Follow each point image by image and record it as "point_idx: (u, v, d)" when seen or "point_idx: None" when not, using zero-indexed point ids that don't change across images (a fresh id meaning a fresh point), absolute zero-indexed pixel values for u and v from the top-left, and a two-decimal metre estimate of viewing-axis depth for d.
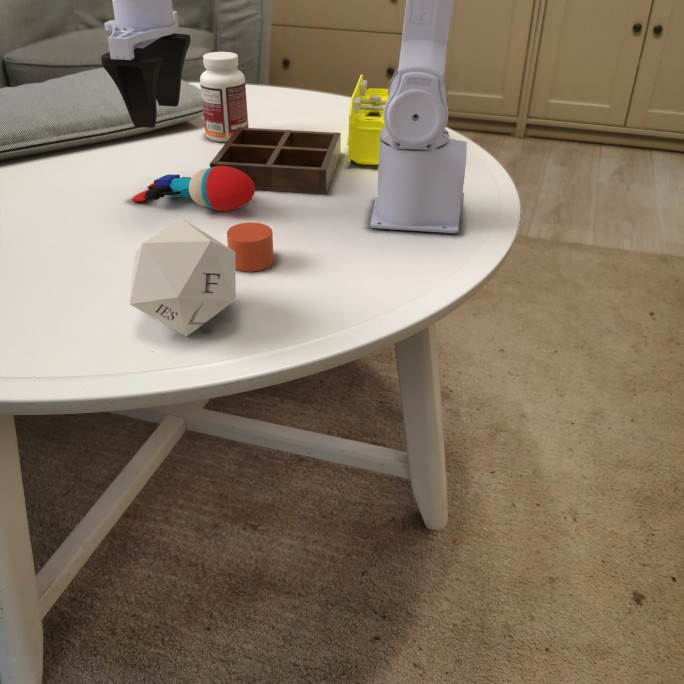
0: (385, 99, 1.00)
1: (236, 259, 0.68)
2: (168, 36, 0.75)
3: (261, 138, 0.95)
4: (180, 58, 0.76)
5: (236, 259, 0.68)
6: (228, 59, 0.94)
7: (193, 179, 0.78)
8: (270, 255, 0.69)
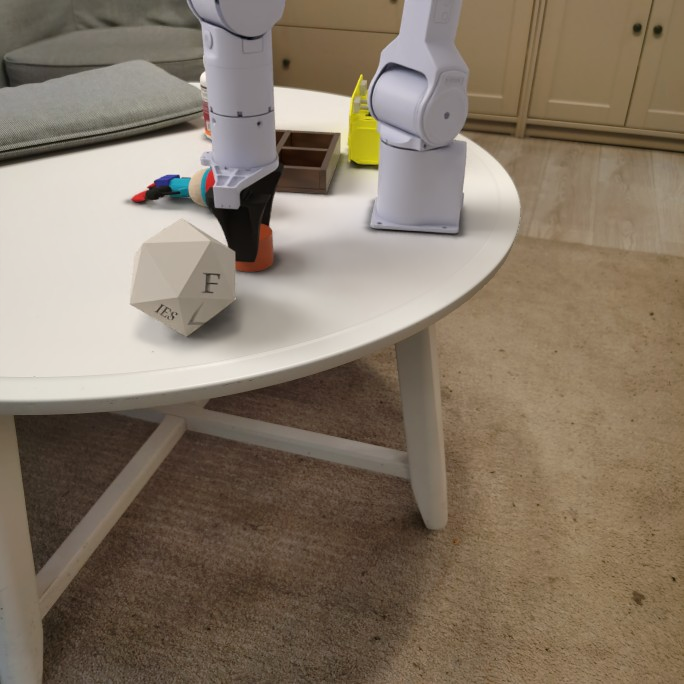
0: None
1: None
2: None
3: None
4: (273, 191, 0.68)
5: None
6: None
7: (193, 179, 0.78)
8: (270, 255, 0.69)
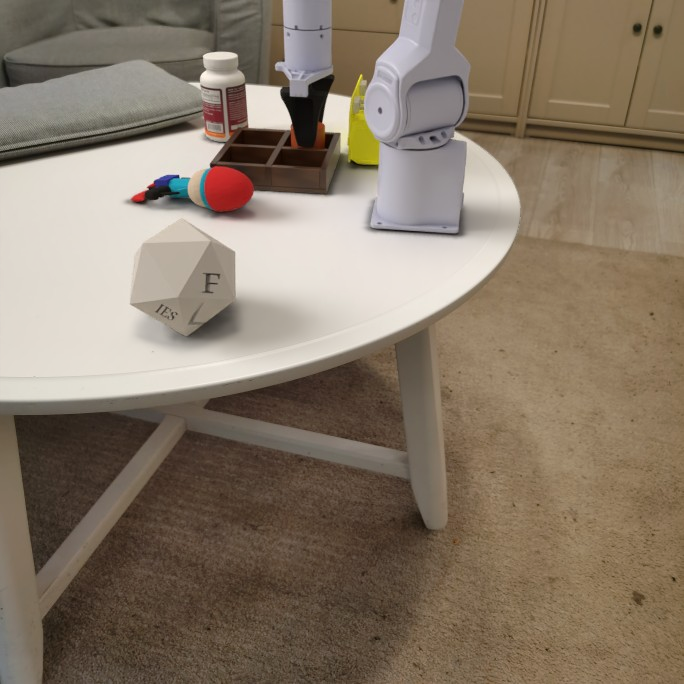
0: None
1: (298, 146, 0.90)
2: None
3: (261, 138, 0.95)
4: (326, 94, 0.91)
5: None
6: (228, 59, 0.94)
7: (192, 179, 0.78)
8: (323, 144, 0.91)
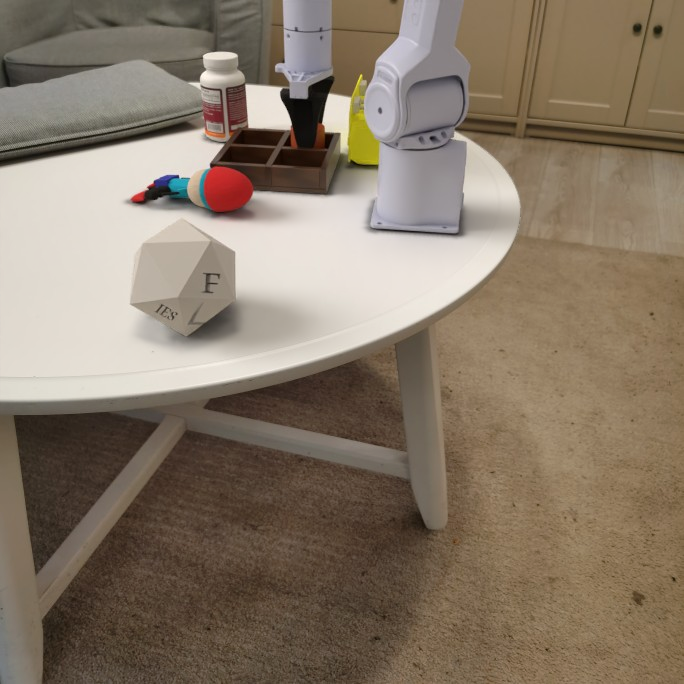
0: None
1: None
2: None
3: (261, 138, 0.95)
4: (326, 96, 0.91)
5: None
6: (228, 59, 0.94)
7: (191, 180, 0.78)
8: (323, 145, 0.91)
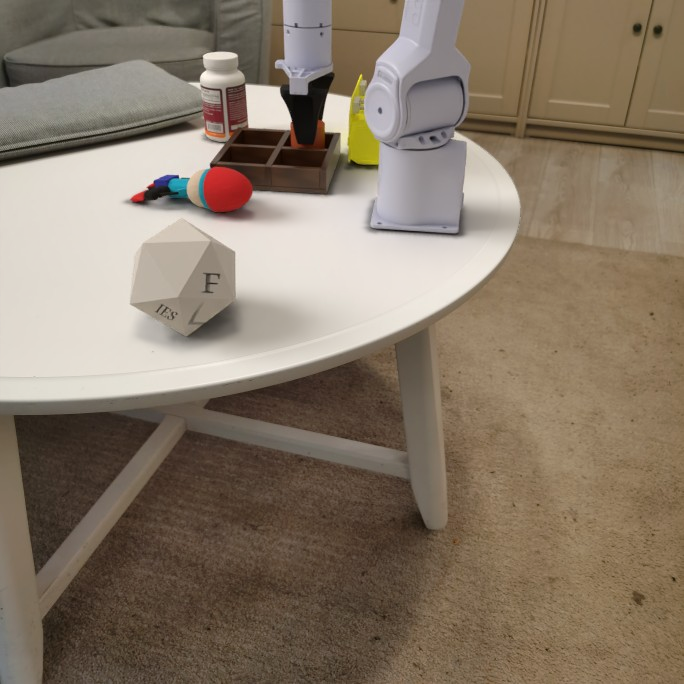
0: None
1: None
2: None
3: (261, 138, 0.95)
4: (326, 92, 0.90)
5: None
6: (228, 59, 0.94)
7: (191, 180, 0.78)
8: (323, 142, 0.91)
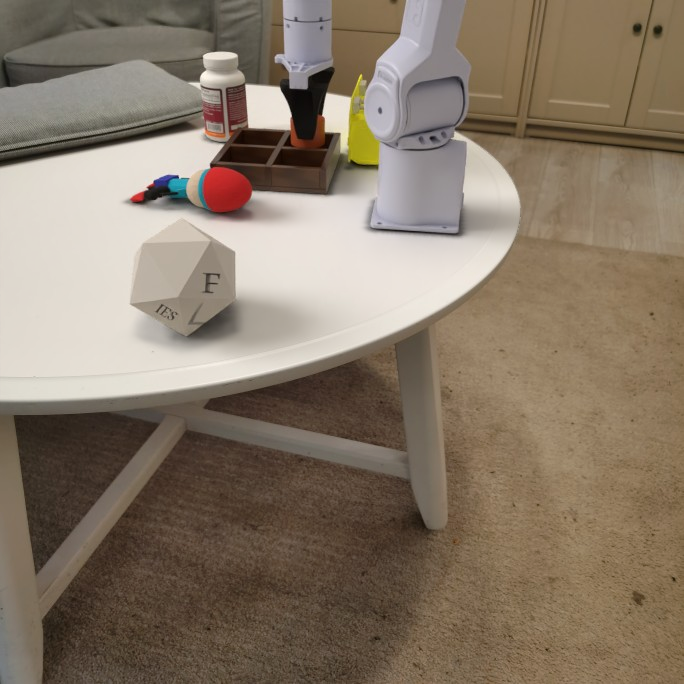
0: None
1: None
2: None
3: (261, 138, 0.95)
4: (326, 87, 0.90)
5: None
6: (228, 59, 0.94)
7: (190, 180, 0.78)
8: (323, 137, 0.91)
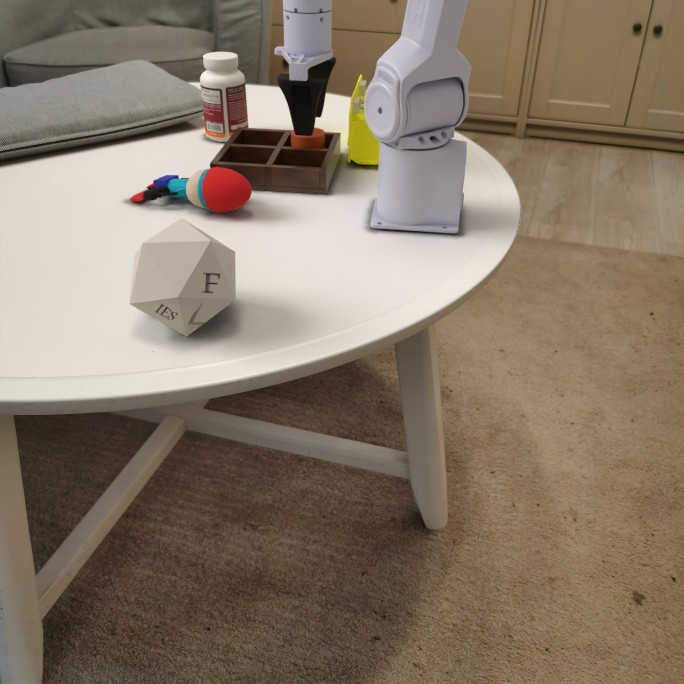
0: None
1: None
2: None
3: (261, 138, 0.95)
4: (328, 77, 0.91)
5: None
6: (228, 59, 0.94)
7: (190, 180, 0.78)
8: None
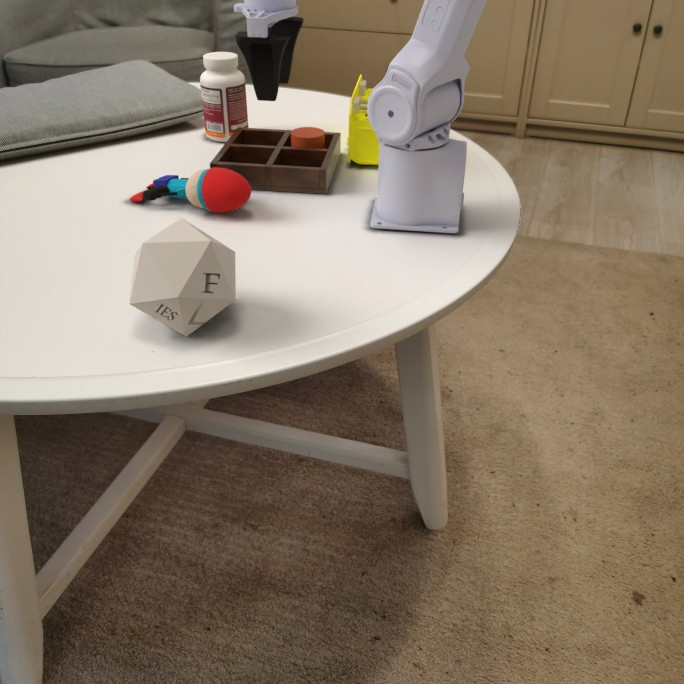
0: None
1: None
2: (284, 18, 0.83)
3: (261, 138, 0.95)
4: (294, 39, 0.84)
5: None
6: (228, 59, 0.94)
7: (190, 180, 0.78)
8: None
